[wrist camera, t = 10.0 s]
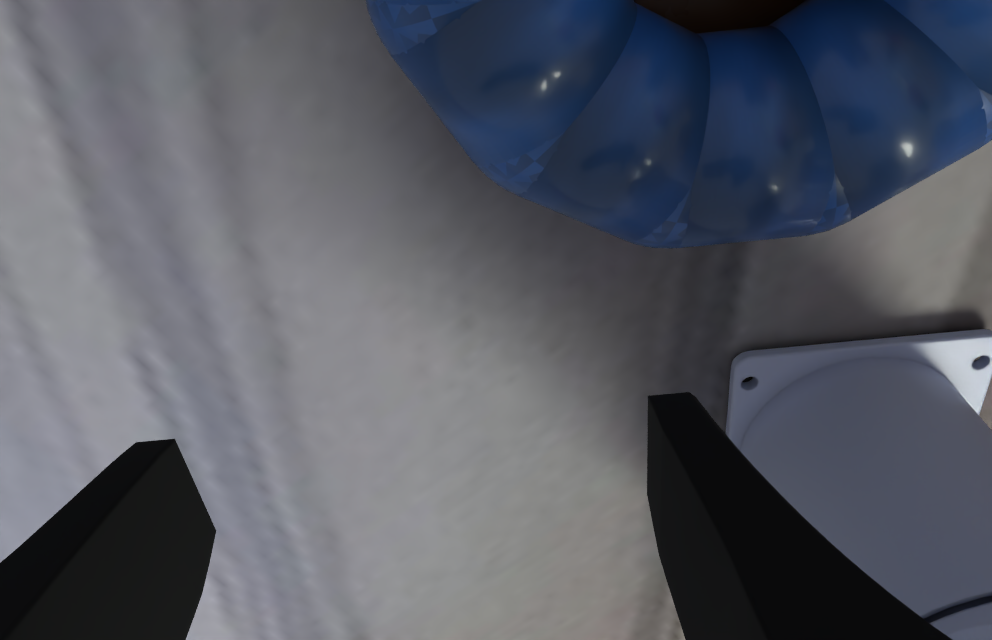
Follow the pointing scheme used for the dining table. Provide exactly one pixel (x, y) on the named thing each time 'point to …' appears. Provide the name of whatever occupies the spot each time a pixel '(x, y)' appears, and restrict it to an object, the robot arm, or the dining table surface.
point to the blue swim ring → (701, 107)
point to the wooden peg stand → (720, 13)
